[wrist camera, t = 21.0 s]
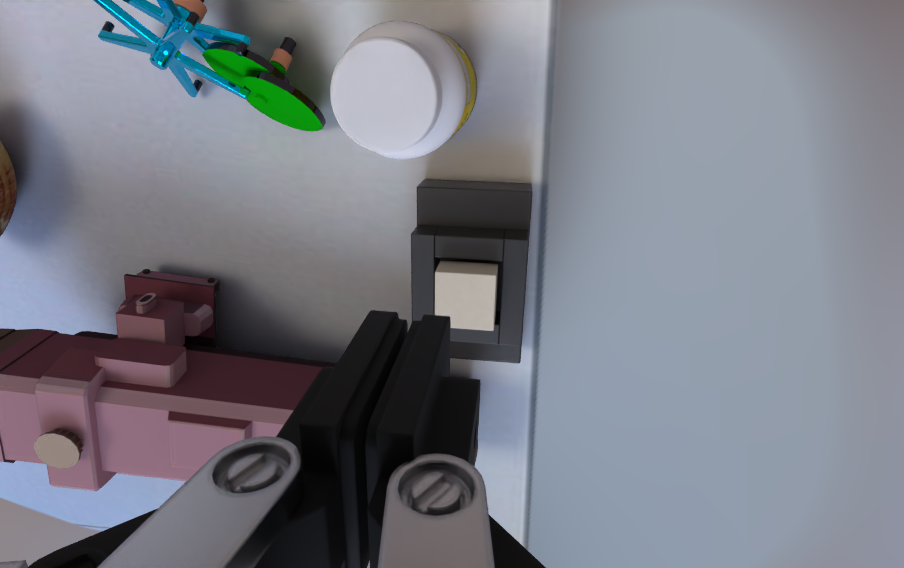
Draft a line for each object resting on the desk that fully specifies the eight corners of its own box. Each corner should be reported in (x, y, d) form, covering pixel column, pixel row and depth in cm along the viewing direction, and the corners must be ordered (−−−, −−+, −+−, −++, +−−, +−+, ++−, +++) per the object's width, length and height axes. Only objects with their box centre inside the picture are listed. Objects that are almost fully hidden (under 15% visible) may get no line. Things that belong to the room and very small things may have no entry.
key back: (495, 317, 29) (493, 331, 27) (439, 312, 29) (434, 327, 27) (498, 263, 28) (496, 275, 26) (440, 260, 28) (434, 271, 26)
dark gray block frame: (520, 346, 33) (519, 380, 29) (424, 338, 34) (411, 371, 30) (532, 183, 30) (532, 199, 26) (423, 178, 30) (409, 193, 26)
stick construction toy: (83, 54, 28) (35, -36, 21) (147, -53, 29) (123, -172, 22) (303, 166, 32) (327, 123, 25) (349, 67, 33) (385, 0, 26)
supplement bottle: (396, 153, 30) (339, 188, 21) (363, 51, 28) (285, 41, 19) (491, 125, 29) (474, 148, 20) (462, 16, 27) (429, -13, 18)
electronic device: (453, 447, 39) (455, 566, 30) (65, 400, 37) (-61, 511, 28) (479, 312, 35) (491, 403, 26) (44, 252, 33) (-110, 326, 24)
